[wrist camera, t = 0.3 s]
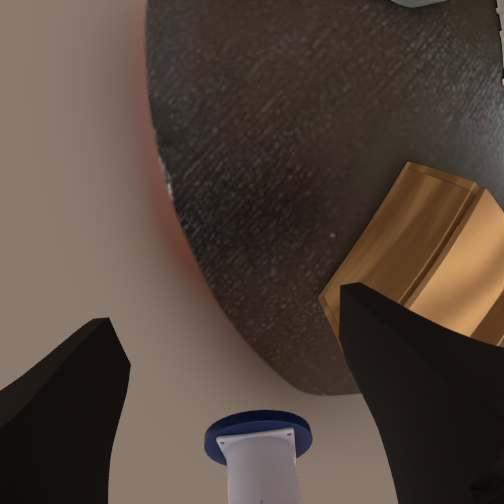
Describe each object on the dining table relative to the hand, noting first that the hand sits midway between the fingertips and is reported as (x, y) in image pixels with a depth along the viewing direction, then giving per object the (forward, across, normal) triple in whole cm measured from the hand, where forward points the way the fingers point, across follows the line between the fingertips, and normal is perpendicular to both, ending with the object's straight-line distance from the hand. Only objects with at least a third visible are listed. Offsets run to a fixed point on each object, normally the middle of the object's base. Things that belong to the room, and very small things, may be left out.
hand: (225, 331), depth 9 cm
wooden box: (+10, -14, +5) cm, 18 cm away
